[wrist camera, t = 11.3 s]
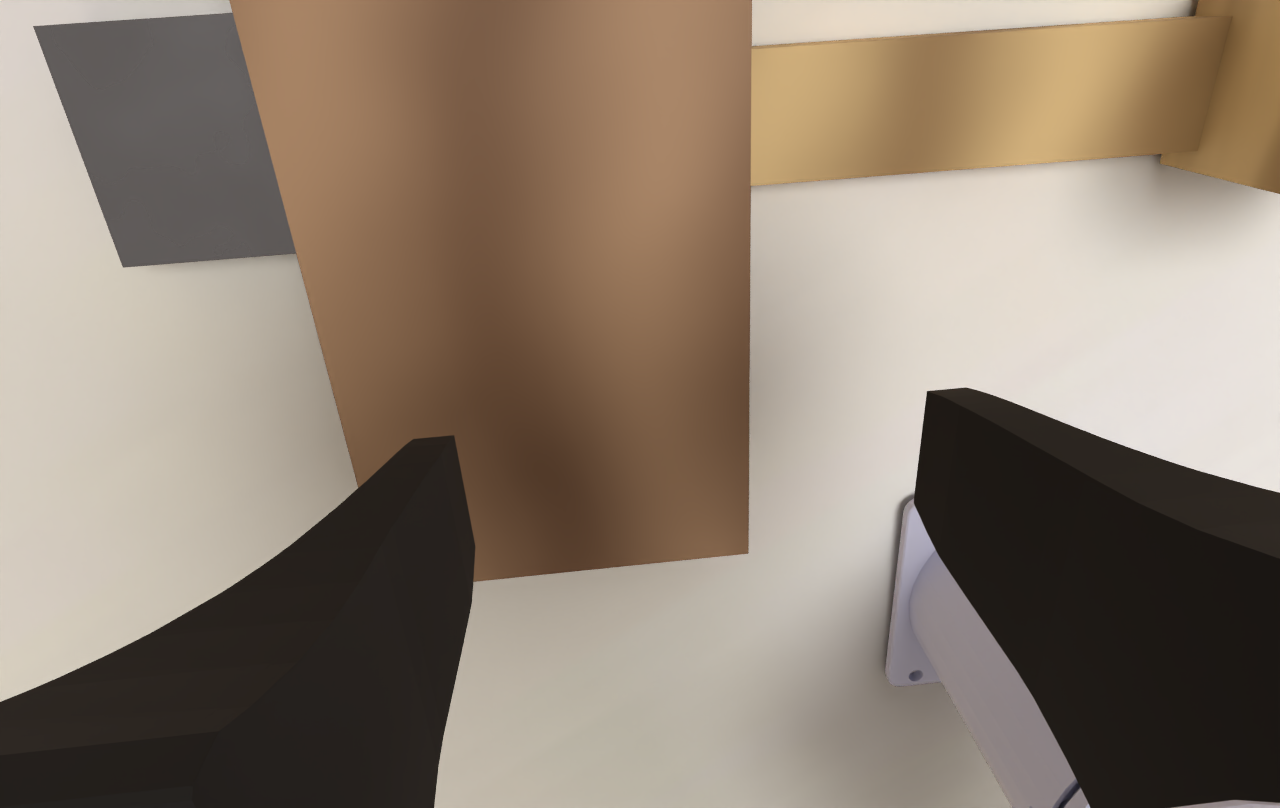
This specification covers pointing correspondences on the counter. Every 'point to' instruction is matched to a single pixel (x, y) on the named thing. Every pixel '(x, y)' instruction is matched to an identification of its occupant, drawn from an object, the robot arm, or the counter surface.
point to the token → (170, 137)
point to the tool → (1027, 98)
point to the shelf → (529, 255)
